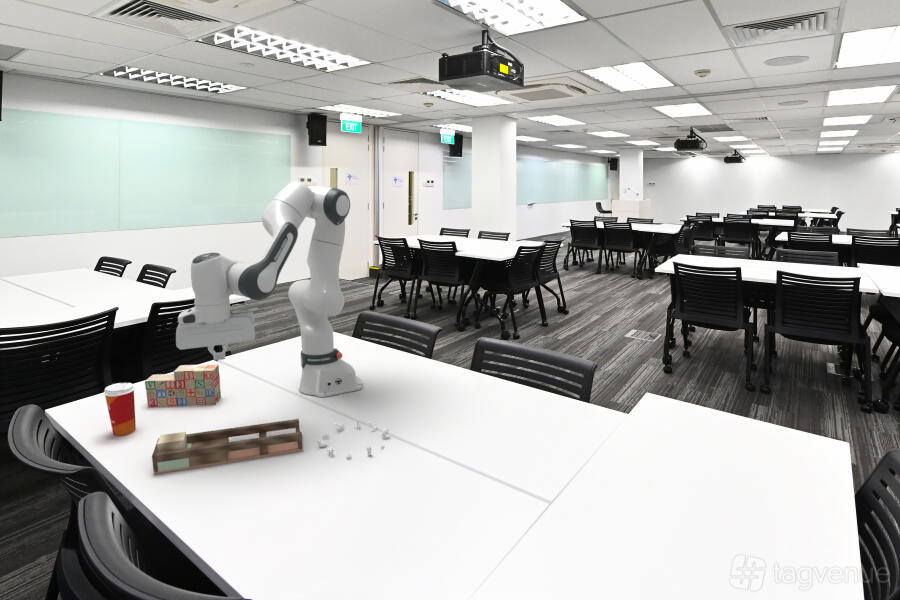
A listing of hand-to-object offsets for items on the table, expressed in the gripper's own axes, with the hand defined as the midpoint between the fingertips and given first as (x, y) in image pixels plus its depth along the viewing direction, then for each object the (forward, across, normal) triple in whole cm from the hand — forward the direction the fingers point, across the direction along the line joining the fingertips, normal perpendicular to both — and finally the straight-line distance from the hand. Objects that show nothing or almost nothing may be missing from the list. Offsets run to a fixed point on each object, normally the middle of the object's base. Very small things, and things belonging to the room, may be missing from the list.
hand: (219, 359), depth 145 cm
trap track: (+23, -1, +13) cm, 26 cm away
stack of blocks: (+23, +14, -29) cm, 40 cm away
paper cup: (+22, +29, -11) cm, 38 cm away
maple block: (+19, +13, +13) cm, 27 cm away
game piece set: (+24, -33, +19) cm, 45 cm away
